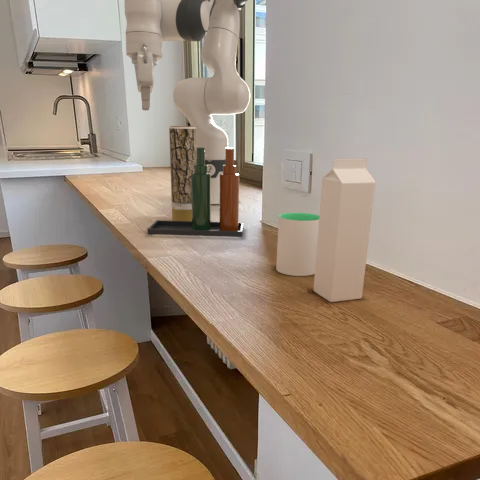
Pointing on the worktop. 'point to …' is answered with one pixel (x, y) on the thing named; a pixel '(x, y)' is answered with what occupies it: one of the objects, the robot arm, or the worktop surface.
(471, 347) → the worktop surface
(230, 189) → the amber bottle
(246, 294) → the worktop surface
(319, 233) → the milk
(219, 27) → the robot arm
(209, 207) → the green bottle
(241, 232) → the tray
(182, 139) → the paper tube
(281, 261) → the mug
